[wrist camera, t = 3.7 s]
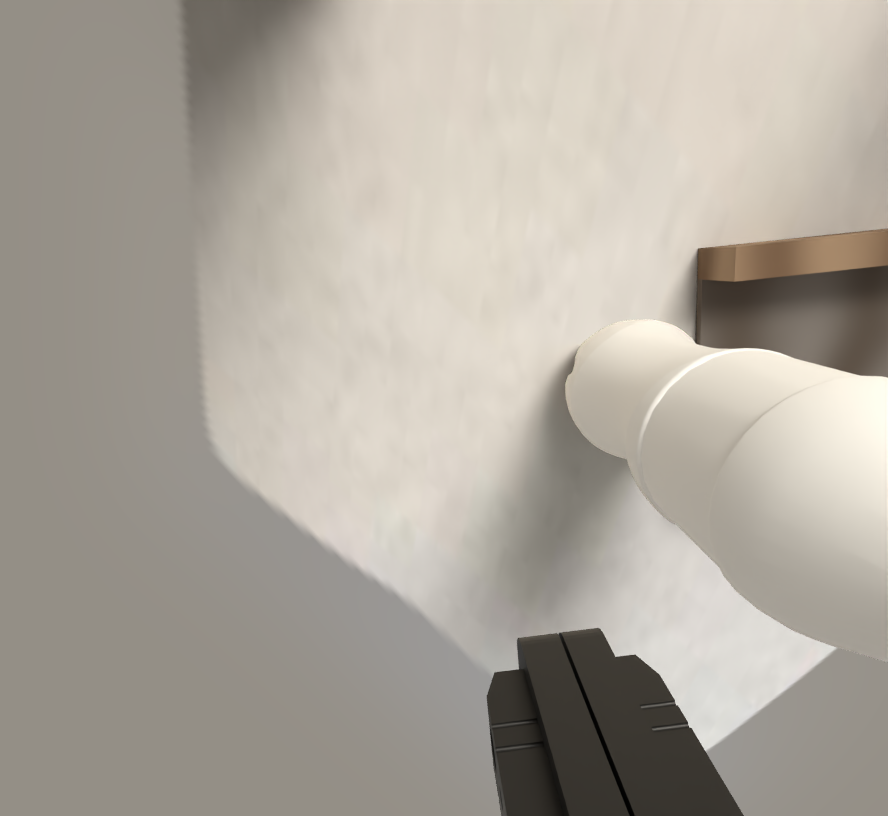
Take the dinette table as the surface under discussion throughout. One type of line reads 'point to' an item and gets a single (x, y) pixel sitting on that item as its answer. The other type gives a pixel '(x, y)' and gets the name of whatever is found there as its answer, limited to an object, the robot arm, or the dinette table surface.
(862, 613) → the water bottle
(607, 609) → the dinette table surface
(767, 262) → the walnut cradle
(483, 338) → the dinette table surface
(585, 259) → the dinette table surface
